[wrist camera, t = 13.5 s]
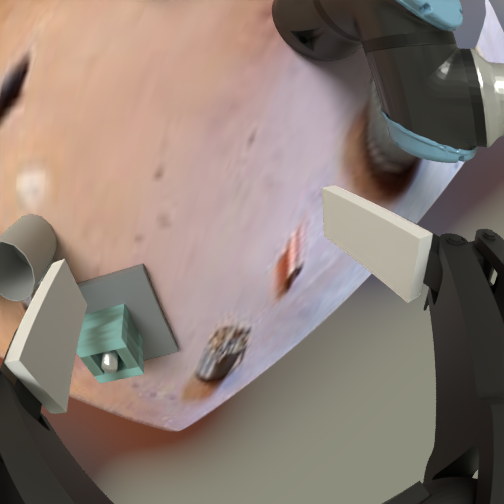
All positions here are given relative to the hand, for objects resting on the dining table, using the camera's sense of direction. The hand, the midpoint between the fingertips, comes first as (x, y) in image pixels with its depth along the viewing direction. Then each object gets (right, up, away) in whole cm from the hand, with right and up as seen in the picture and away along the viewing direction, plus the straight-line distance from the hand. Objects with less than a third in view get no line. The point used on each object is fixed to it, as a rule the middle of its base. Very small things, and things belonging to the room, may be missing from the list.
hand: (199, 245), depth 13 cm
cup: (-30, +1, +20) cm, 36 cm away
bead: (-21, -13, +28) cm, 38 cm away
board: (-21, -12, +30) cm, 39 cm away
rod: (-21, -13, +29) cm, 38 cm away
